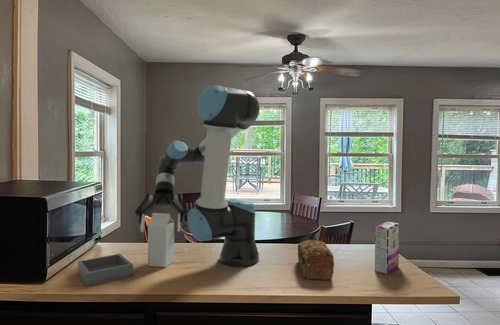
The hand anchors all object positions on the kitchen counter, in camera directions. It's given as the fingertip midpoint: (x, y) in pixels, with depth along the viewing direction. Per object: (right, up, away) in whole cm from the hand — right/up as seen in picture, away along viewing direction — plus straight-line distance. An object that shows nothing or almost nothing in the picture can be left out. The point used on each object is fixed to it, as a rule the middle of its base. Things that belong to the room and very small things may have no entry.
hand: (160, 230), depth 124 cm
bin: (-15, -12, -12) cm, 23 cm away
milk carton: (+1, -12, -1) cm, 12 cm away
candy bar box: (+84, -13, -5) cm, 85 cm away
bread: (+57, -13, -6) cm, 59 cm away
